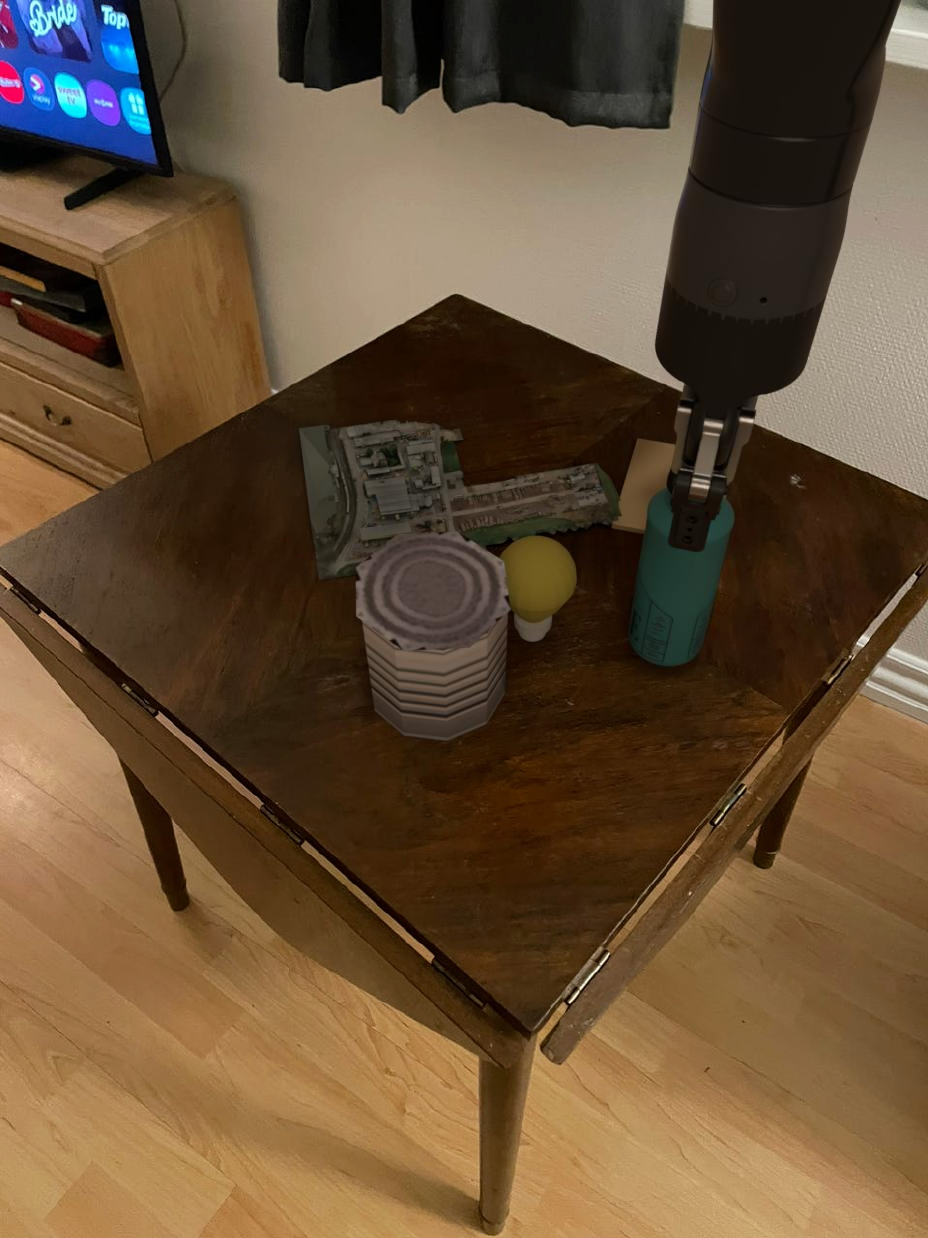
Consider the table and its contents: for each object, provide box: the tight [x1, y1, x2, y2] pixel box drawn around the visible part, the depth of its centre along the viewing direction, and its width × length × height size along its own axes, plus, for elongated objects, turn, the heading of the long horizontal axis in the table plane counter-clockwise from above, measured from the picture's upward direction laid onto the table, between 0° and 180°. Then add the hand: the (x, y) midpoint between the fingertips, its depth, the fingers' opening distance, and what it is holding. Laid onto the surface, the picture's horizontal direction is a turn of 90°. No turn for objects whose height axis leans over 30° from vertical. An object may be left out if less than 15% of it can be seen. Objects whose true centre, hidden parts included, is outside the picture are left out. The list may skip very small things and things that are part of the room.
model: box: [298, 419, 622, 581], centre depth 93 cm, size 21×30×2 cm
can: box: [355, 532, 512, 742], centre depth 72 cm, size 11×11×12 cm
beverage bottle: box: [626, 468, 736, 667], centre depth 71 cm, size 6×7×20 cm
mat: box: [611, 437, 730, 535], centre depth 93 cm, size 10×14×1 cm
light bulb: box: [498, 535, 578, 642], centre depth 77 cm, size 7×7×10 cm
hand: (686, 541), depth 57 cm, fingers closed
